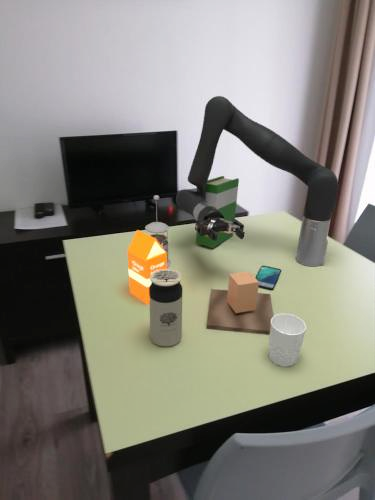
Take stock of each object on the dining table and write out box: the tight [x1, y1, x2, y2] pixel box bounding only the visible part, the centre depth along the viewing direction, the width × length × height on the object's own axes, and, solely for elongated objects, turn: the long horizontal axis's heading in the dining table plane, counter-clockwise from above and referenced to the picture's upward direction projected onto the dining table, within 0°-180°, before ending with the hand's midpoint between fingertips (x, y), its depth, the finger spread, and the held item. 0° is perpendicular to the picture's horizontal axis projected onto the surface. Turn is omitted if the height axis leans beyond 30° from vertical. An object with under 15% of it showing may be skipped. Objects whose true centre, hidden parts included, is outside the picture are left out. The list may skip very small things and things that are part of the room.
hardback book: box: [195, 175, 240, 249], centre depth 142 cm, size 18×7×24 cm, turn 147°
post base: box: [206, 288, 274, 335], centre depth 101 cm, size 18×18×10 cm
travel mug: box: [149, 268, 183, 347], centre depth 89 cm, size 8×8×18 cm
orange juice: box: [126, 229, 168, 306], centre depth 106 cm, size 8×9×20 cm
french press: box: [144, 194, 172, 268], centre depth 124 cm, size 10×12×25 cm
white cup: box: [267, 313, 307, 368], centre depth 85 cm, size 8×8×10 cm
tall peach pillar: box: [227, 271, 259, 313], centre depth 100 cm, size 6×6×9 cm
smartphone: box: [254, 265, 282, 292], centre depth 121 cm, size 7×1×15 cm
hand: (229, 237), depth 104 cm, fingers open, 8 cm apart
